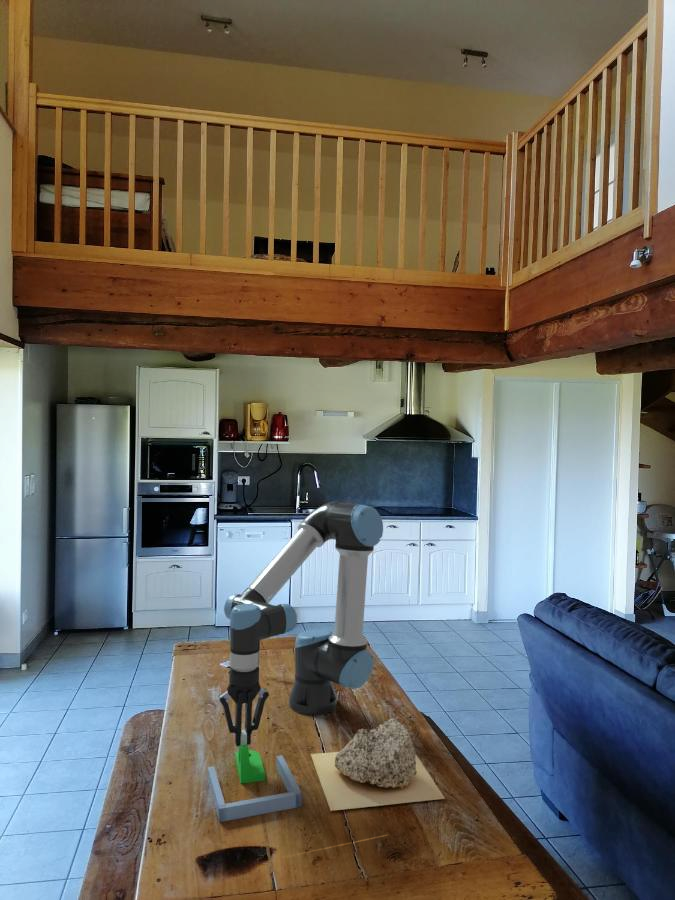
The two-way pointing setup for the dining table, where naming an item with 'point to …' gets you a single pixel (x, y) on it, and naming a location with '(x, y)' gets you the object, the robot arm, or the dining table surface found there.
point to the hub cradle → (257, 804)
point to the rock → (375, 770)
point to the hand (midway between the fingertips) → (242, 757)
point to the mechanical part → (249, 765)
